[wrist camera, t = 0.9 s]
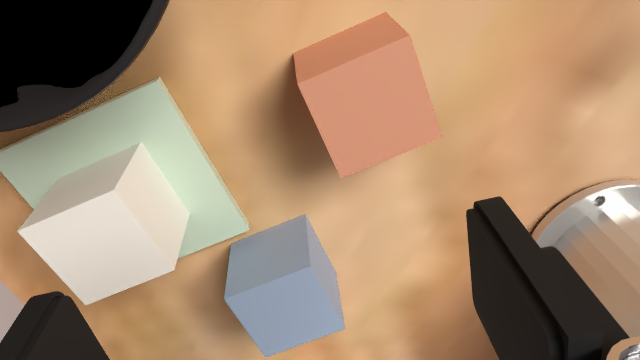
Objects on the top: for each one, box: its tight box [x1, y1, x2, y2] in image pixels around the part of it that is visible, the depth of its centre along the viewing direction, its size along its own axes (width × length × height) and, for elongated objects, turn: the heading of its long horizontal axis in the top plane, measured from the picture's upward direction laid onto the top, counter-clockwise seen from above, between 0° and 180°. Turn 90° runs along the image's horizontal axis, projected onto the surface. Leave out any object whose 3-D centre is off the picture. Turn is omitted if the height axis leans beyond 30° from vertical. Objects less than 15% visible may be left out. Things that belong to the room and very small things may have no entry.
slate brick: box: [224, 214, 345, 357], centre depth 35 cm, size 6×6×6 cm
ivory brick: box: [17, 142, 190, 305], centre depth 30 cm, size 6×6×6 cm
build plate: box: [0, 77, 249, 259], centre depth 33 cm, size 12×12×1 cm
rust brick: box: [293, 12, 442, 178], centre depth 28 cm, size 6×6×6 cm
